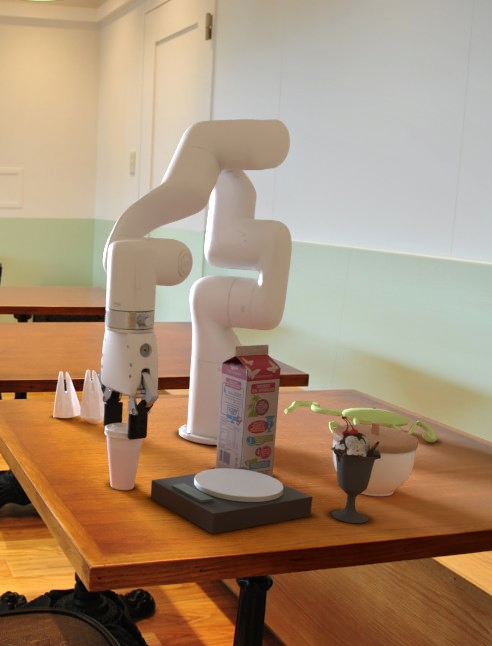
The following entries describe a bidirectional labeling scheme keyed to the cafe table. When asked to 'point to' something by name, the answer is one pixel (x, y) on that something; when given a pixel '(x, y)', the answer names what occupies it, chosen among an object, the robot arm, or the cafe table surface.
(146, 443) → the cafe table surface
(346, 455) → the sundae
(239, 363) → the juice carton
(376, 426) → the lidded bowl
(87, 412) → the shaker set
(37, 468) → the cafe table surface
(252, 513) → the scale
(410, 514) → the cafe table surface
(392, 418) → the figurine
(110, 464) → the smoothie
